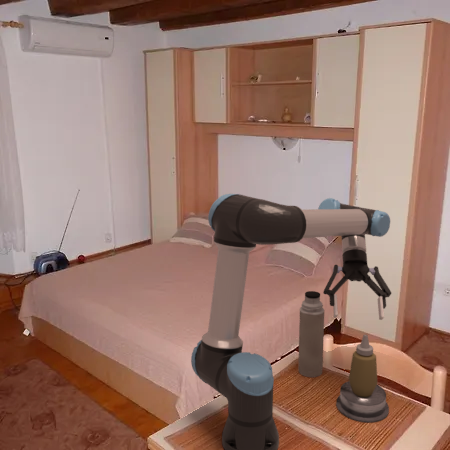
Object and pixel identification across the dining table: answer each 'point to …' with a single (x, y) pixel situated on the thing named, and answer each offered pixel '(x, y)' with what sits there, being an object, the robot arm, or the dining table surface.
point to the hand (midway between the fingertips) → (358, 317)
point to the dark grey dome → (362, 404)
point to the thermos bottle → (311, 335)
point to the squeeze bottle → (363, 369)
